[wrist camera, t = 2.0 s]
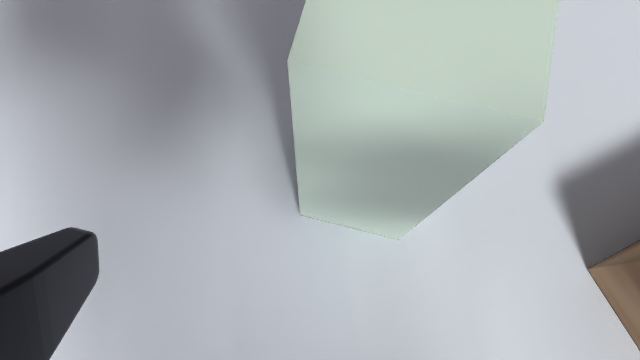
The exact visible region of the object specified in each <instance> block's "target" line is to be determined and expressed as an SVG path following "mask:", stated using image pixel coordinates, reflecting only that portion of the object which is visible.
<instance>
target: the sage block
mask: <svg viewBox="0 0 640 360" xmlns="http://www.w3.org/2000/svg"><path fill="white" fill-rule="evenodd" d="M558 4H559V0H306V1H305V5H304V8H303V11H302V14H301V18H300V21H299V24H298V27H297V30H296V34H295V37H294V40H293V43H292V46H291V50H290V53H289V56H288V59H287V62H288V74H289V86H290V99H291V111H292V123H293V135H294V147H295V159H296V172H297V184H298V196H299V208H300V215H303V216H307V217H311V218H314V219H318V220H322V221H326V222H330V223H334V224H338V225H342V226H346V227H350V228H354V229H358V230H361V231H365V232H369V233H373V234H377V235H381V236H385V237H389V238H393V239H397V240H399V239H401V238H402V237H403V236H404V235H405V234H407V233H408V232H409V231H410V230H412V229H413V228H414V227H415V226H416V225H418V224H419V223H420V222H421V221H423V220H424V219H425V218H426V217H427V216H429V215H430V214H431V213H432V212H434V211H435V210H436V209H437V208H438V207H440V206H441V205H442V204H443V203H445V202H446V201H447V200H448V199H449V198H451V197H452V196H453V195H454V194H456V193H457V192H458V191H459V190H461V189H462V188H463V187H464V186H465V185H467V184H468V183H469V182H470V181H472V180H473V179H474V178H475V177H476V176H478V175H479V174H480V173H481V172H483V171H484V170H485V169H486V168H487V167H489V166H490V165H491V164H492V163H494V162H495V161H496V160H497V159H498V158H500V157H501V156H502V155H503V154H505V153H506V152H507V151H508V150H509V149H511V148H512V147H513V146H514V145H516V144H517V143H518V142H519V141H521V140H522V139H523V138H524V137H525V136H527V135H528V134H529V133H530V132H532V131H533V130H534V129H535V128H536V127H538V126H539V125H540V124H541V123H543V122H544V117H545V109H546V101H547V93H548V85H549V77H550V69H551V61H552V53H553V45H554V37H555V29H556V20H557V12H558Z"/></svg>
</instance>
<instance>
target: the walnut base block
mask: <svg viewBox="0 0 640 360" xmlns="http://www.w3.org/2000/svg"><path fill="white" fill-rule="evenodd" d="M588 271H589V272H590V274H591V276H592V277H593V279H594V280H595V282H596V283H597V285H598V286H599V288H600V289H601V291H602V293H603V294H604V296H605V297H606V299H607V300H608V302H609V303H610V305H611V306H612V308H613V309H614V311H615V313H616V314H617V316H618V317H619V319H620V320H621V322H622V323H623V325H624V326H625V328H626V329H627V331H628V333H629V334H630V336H631V337H632V339H633V340H634V342H635V343H636V345H637V346H638V348H639V349H640V240H639V241H637V242H635V243H633V244H632V245H630V246H628V247H626V248H625V249H623V250H621V251H619V252H617V253H616V254H614V255H612V256H610V257H609V258H607V259H605V260H603V261H601V262H600V263H598V264H596V265H594V266H593V267H591V268H589V269H588Z"/></svg>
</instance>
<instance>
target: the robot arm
mask: <svg viewBox="0 0 640 360" xmlns="http://www.w3.org/2000/svg"><path fill="white" fill-rule="evenodd" d="M98 275H99V256H98V240H97V237H96V235H95V234H94V233H93V232H90V231H86V230H82V229H78V228H73V227H70V228H66V229H63V230H60V231H57V232H55V233H52V234H49V235H46V236H43V237H41V238H38V239H35V240H32V241H29V242H27V243H24V244H21V245H18V246H15V247H13V248H10V249H7V250H4V251H1V252H0V360H49V359H50V358H51V356H52V355H53V353H54V351H55V350H56V348H57V346H58V345H59V343H60V342H61V340H62V338H63V337H64V335H65V333H66V332H67V330H68V328H69V327H70V325H71V323H72V322H73V320H74V318H75V317H76V315H77V313H78V312H79V310H80V308H81V307H82V305H83V304H84V302H85V300H86V299H87V297H88V295H89V294H90V292H91V290H92V289H93V287H94V285H95V283H96V281H97V279H98Z"/></svg>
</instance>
